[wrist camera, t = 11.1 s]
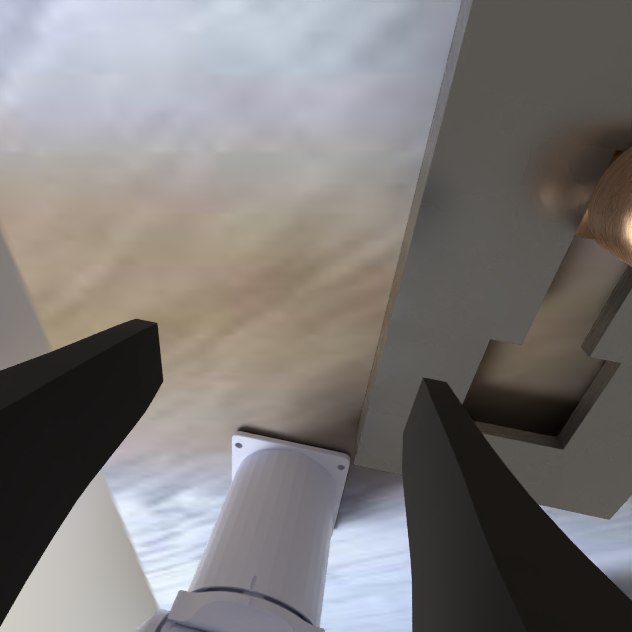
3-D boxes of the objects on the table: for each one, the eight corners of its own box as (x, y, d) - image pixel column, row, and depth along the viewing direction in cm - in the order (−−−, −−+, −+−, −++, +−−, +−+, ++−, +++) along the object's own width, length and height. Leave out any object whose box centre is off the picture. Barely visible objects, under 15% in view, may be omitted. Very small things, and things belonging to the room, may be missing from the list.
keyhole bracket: (587, 478, 22) (609, 519, 20) (356, 430, 23) (353, 464, 21) (942, 15, 11) (1082, -8, 9) (470, -33, 12) (489, -65, 10)
